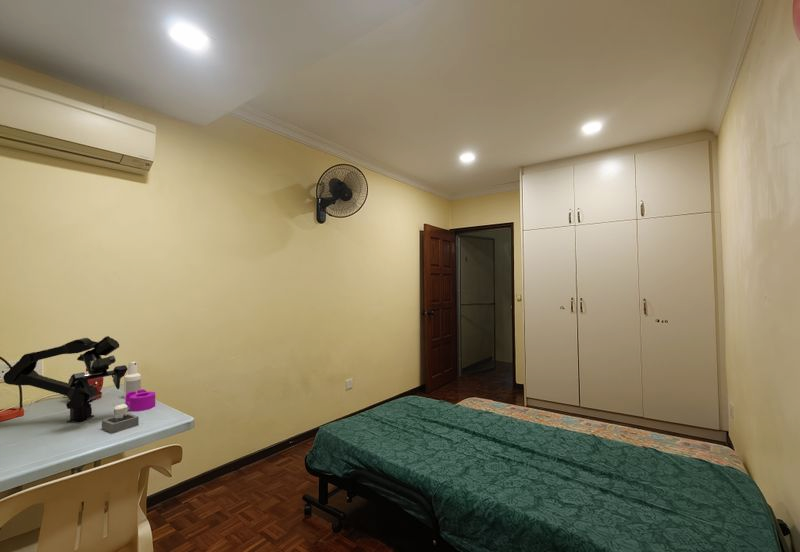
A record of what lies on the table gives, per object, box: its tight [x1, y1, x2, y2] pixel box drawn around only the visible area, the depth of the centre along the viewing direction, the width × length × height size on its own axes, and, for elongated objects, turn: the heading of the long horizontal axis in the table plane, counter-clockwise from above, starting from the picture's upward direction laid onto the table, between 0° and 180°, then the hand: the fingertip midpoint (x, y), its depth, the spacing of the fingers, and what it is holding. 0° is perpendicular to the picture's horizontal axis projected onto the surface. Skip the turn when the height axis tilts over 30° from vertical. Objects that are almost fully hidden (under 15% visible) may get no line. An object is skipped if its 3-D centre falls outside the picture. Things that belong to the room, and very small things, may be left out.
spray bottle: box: [123, 361, 142, 399], centre depth 181 cm, size 7×7×18 cm
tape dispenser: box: [124, 388, 156, 413], centre depth 167 cm, size 16×10×6 cm, turn 51°
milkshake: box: [111, 402, 129, 423], centre depth 142 cm, size 4×5×10 cm
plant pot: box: [68, 373, 104, 400], centre depth 177 cm, size 13×13×12 cm
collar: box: [101, 412, 139, 435], centre depth 142 cm, size 9×9×4 cm
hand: (105, 391), depth 146 cm, fingers open, 9 cm apart
